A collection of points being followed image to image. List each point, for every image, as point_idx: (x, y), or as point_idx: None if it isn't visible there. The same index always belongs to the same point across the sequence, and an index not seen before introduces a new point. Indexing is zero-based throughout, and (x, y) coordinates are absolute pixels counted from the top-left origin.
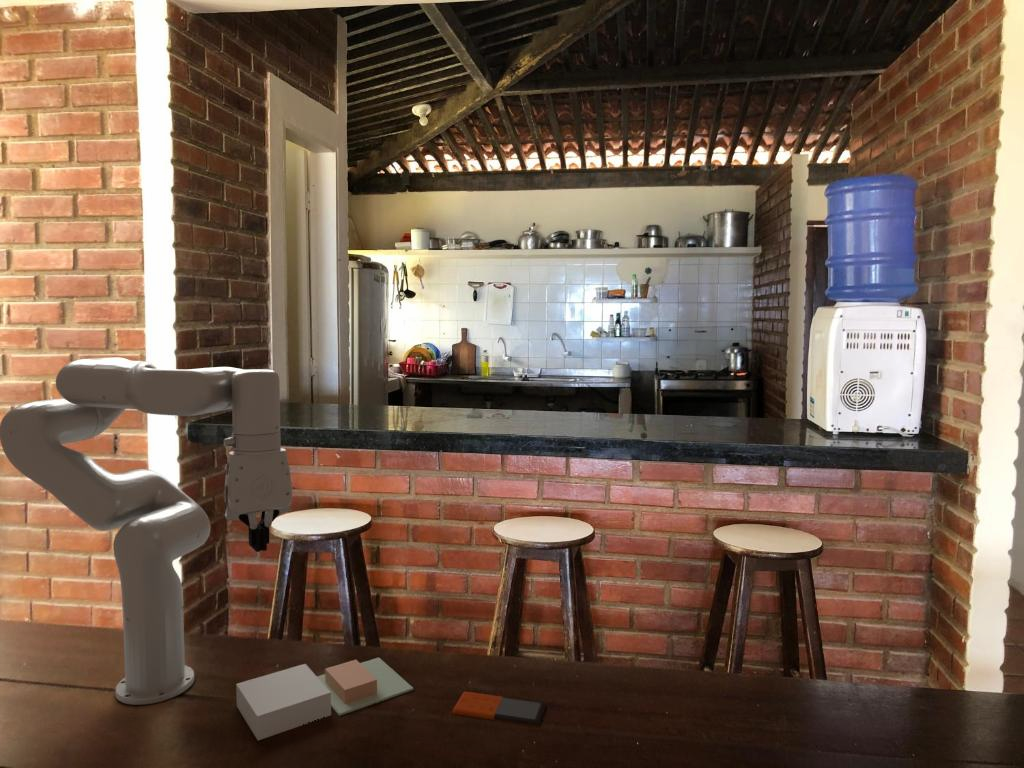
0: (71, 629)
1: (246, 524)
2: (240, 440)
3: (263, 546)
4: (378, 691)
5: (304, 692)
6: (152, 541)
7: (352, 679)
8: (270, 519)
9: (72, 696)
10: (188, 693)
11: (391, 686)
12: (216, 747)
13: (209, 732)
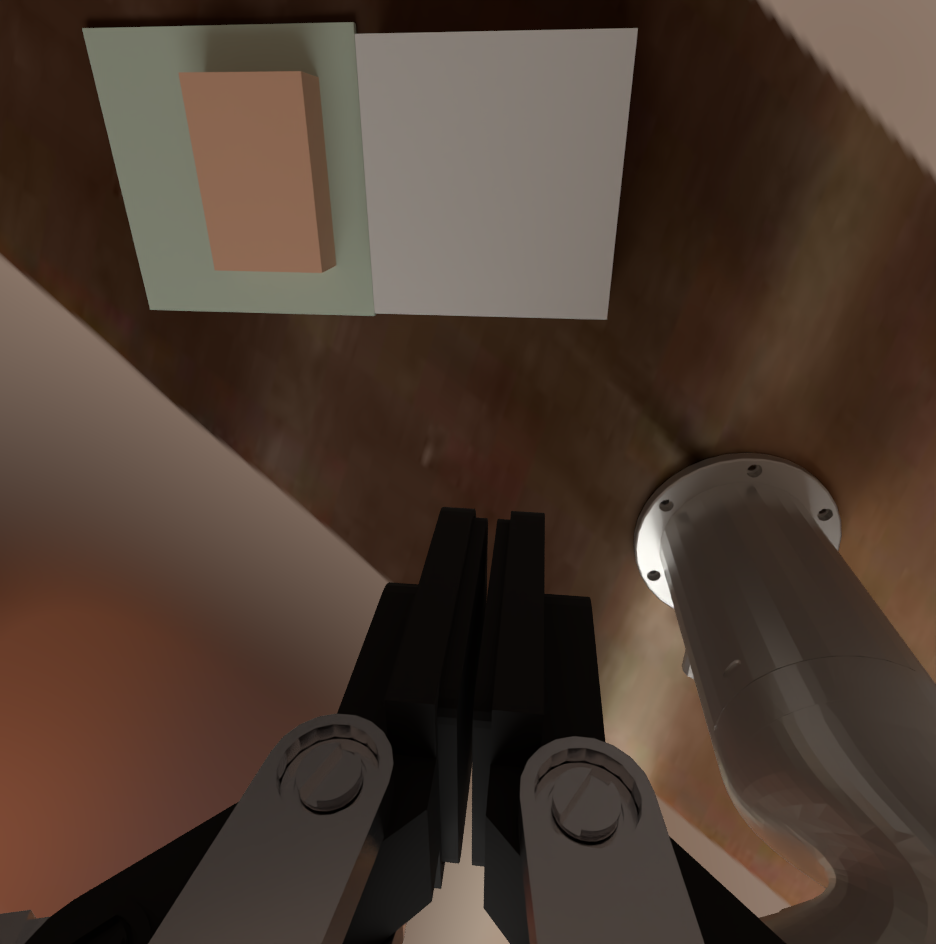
0: (766, 870)
1: (701, 878)
2: None
3: (471, 534)
4: None
5: (437, 102)
6: None
7: (257, 133)
8: (259, 828)
9: (902, 609)
10: (678, 455)
11: (150, 90)
12: (741, 93)
13: (720, 202)
